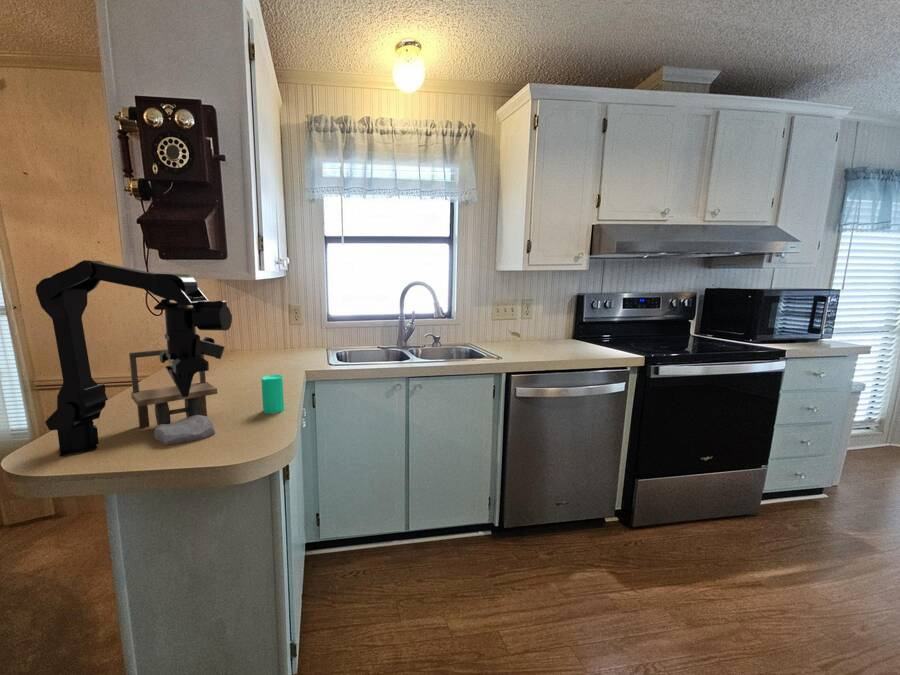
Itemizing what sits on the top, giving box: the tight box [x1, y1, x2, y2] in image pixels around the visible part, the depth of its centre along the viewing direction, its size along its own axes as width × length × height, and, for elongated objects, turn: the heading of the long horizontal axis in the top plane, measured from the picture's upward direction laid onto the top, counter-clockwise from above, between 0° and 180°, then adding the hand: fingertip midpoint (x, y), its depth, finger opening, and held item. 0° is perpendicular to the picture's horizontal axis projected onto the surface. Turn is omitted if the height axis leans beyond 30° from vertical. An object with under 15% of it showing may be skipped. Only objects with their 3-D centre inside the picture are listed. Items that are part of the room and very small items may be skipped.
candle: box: [261, 374, 285, 414], centre depth 129 cm, size 6×6×12 cm
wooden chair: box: [128, 349, 218, 429], centre depth 116 cm, size 18×11×20 cm, turn 133°
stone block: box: [153, 415, 216, 446], centre depth 108 cm, size 12×5×10 cm
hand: (185, 396), depth 99 cm, fingers closed
